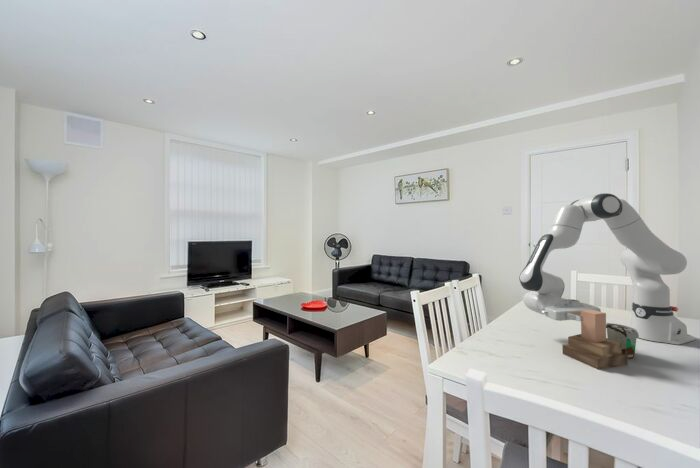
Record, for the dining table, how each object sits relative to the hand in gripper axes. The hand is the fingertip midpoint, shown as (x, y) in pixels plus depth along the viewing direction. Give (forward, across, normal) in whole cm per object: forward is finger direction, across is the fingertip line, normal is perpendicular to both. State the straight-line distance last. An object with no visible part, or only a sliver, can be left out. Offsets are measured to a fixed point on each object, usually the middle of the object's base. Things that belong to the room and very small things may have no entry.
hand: (592, 318), depth 107 cm
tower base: (0, 0, +16) cm, 16 cm away
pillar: (0, 0, +8) cm, 8 cm away
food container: (-1, +16, +15) cm, 22 cm away
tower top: (0, 0, +12) cm, 12 cm away
